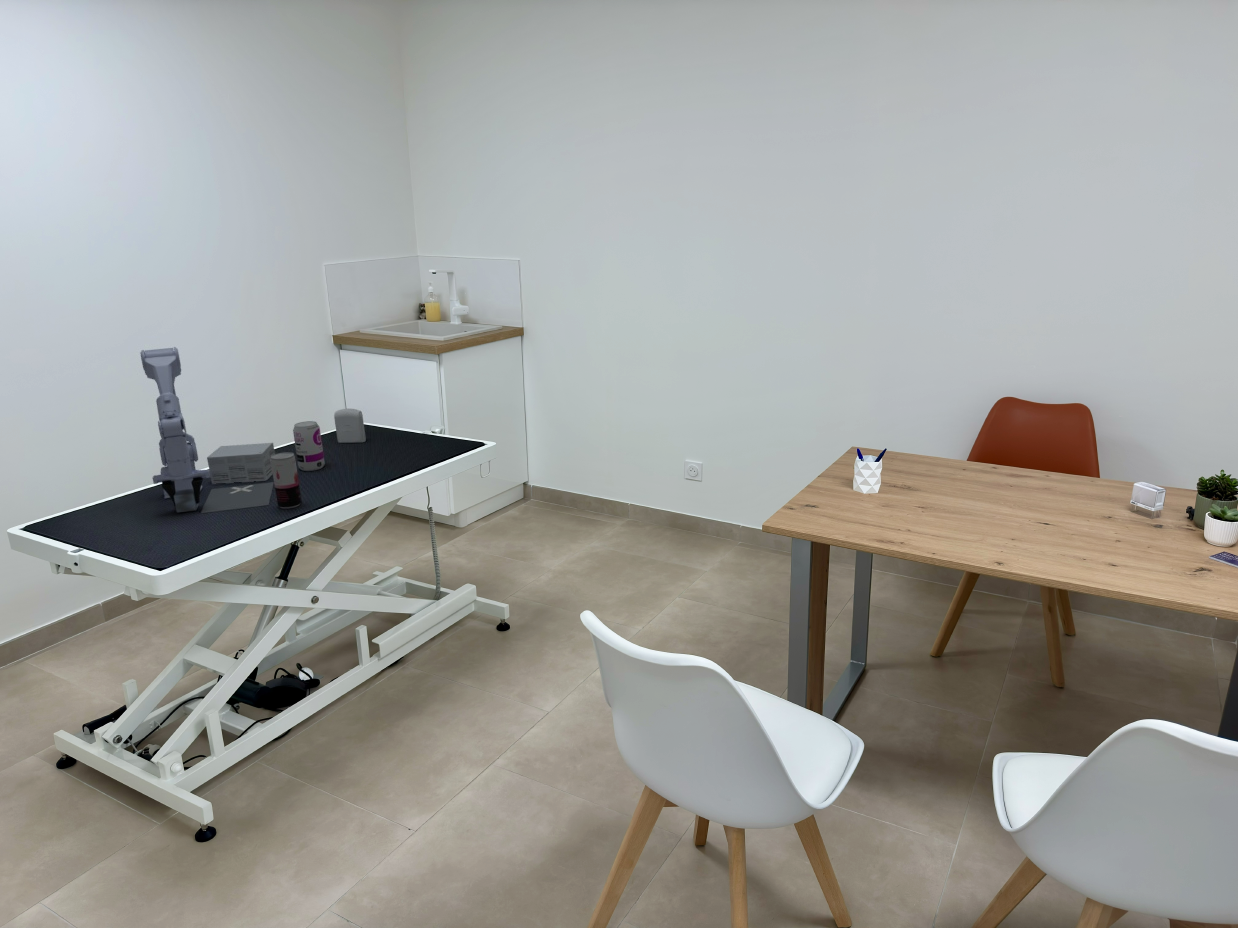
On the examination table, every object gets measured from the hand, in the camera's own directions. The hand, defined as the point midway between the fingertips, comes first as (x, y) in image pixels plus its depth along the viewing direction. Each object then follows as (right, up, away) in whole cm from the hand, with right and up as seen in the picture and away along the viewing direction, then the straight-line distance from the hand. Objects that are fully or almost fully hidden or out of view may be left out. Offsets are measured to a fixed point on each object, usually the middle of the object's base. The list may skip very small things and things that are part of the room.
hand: (187, 503), depth 242 cm
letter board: (+11, +1, +10) cm, 14 cm away
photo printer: (+27, +19, +65) cm, 73 cm away
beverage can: (+29, -1, +2) cm, 29 cm away
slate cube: (0, -1, 0) cm, 1 cm away
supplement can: (+23, +10, +36) cm, 44 cm away
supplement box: (+4, +7, +30) cm, 31 cm away
